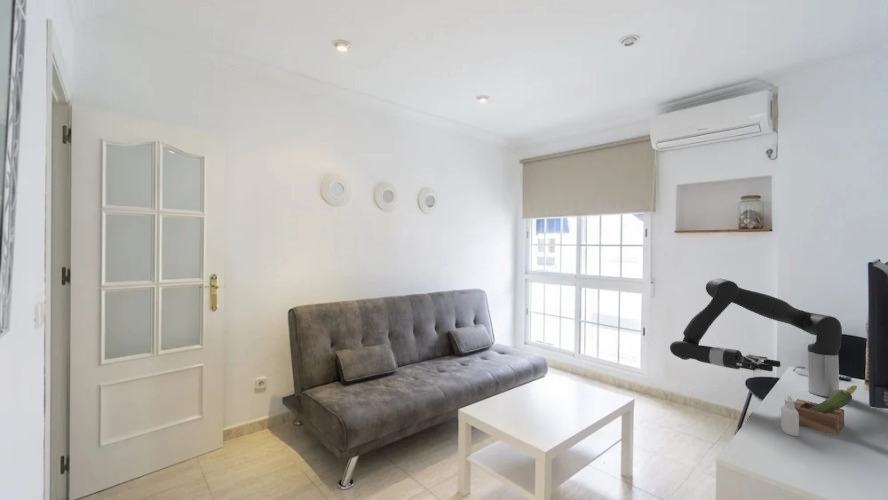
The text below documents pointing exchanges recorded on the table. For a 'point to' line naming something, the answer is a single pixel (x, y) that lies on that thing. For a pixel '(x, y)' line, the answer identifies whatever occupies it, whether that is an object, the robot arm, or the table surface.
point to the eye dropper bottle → (790, 418)
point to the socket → (819, 418)
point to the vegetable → (835, 400)
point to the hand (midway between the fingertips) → (776, 366)
